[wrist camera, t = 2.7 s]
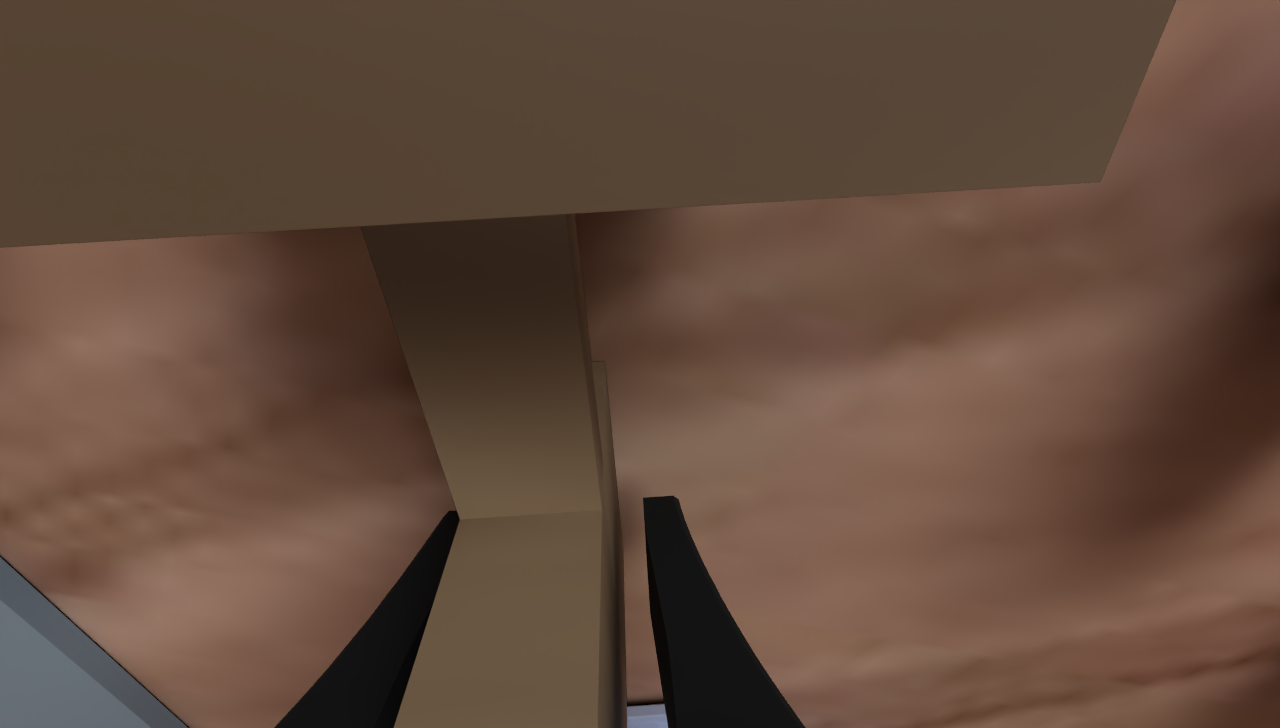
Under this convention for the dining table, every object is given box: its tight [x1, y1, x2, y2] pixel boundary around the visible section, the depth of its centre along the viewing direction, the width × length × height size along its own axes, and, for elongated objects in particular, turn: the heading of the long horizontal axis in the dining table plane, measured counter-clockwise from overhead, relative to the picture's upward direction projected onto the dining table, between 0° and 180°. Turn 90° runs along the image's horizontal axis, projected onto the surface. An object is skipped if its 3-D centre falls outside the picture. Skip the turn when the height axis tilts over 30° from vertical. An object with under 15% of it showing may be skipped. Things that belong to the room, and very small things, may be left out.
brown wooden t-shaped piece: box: [0, 0, 1176, 728], centre depth 8 cm, size 12×7×7 cm, turn 3°
